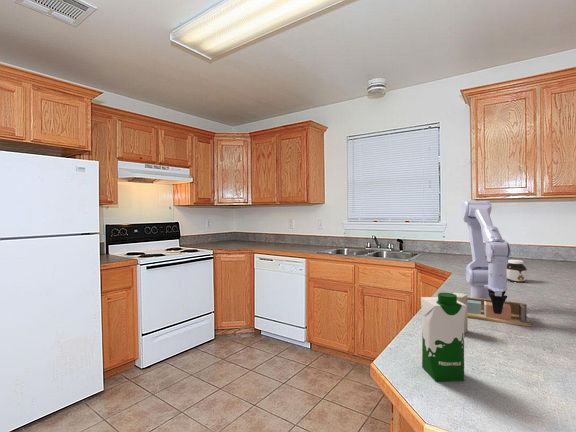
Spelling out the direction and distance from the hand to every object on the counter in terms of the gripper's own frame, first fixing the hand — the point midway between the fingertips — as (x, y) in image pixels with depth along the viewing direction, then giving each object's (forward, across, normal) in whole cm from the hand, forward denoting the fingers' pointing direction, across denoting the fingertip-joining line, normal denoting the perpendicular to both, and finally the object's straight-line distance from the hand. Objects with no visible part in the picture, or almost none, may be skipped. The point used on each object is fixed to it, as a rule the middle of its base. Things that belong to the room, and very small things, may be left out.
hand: (497, 311), depth 121 cm
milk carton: (+3, +54, -14) cm, 56 cm away
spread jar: (+3, -79, +13) cm, 80 cm away
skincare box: (+3, +21, -12) cm, 24 cm away
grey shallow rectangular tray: (+2, -1, +8) cm, 8 cm away
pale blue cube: (+3, -2, -8) cm, 8 cm away
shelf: (+3, -2, 0) cm, 3 cm away
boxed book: (+2, 0, 0) cm, 2 cm away
